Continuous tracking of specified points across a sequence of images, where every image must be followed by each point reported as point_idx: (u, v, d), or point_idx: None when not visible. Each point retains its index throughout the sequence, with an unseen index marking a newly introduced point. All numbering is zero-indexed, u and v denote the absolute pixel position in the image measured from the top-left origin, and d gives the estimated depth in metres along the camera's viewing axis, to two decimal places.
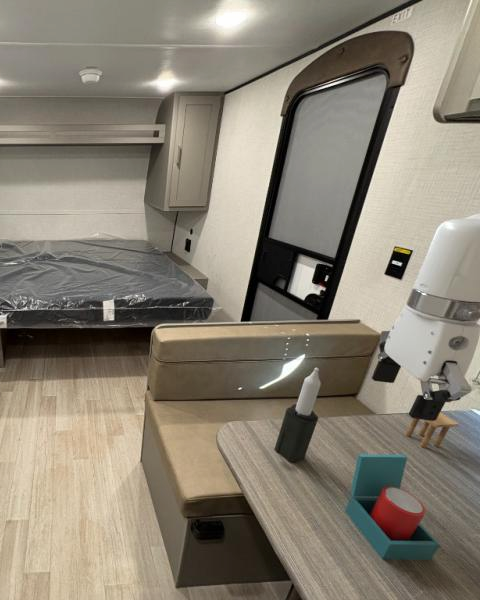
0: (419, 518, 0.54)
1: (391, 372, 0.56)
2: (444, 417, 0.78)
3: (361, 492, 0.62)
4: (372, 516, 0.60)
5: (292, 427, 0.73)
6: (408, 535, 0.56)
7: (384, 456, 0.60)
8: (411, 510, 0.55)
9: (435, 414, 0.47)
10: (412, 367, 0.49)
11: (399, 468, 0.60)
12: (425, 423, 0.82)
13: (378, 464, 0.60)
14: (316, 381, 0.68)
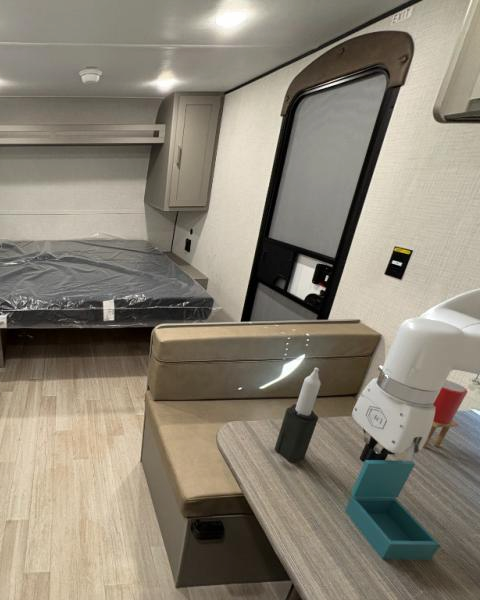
0: (463, 395, 0.73)
1: None
2: None
3: (362, 493, 0.61)
4: None
5: (292, 427, 0.73)
6: (454, 410, 0.75)
7: (391, 462, 0.59)
8: (457, 390, 0.74)
9: None
10: None
11: (405, 473, 0.59)
12: None
13: (383, 469, 0.59)
14: (316, 381, 0.68)
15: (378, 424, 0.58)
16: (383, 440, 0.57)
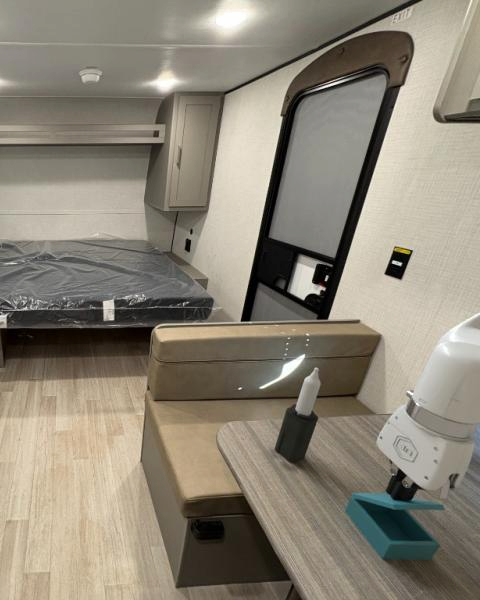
0: None
1: None
2: None
3: None
4: None
5: (292, 427, 0.73)
6: None
7: (420, 508, 0.54)
8: None
9: None
10: None
11: None
12: None
13: None
14: (316, 381, 0.68)
15: (408, 456, 0.53)
16: (414, 475, 0.52)
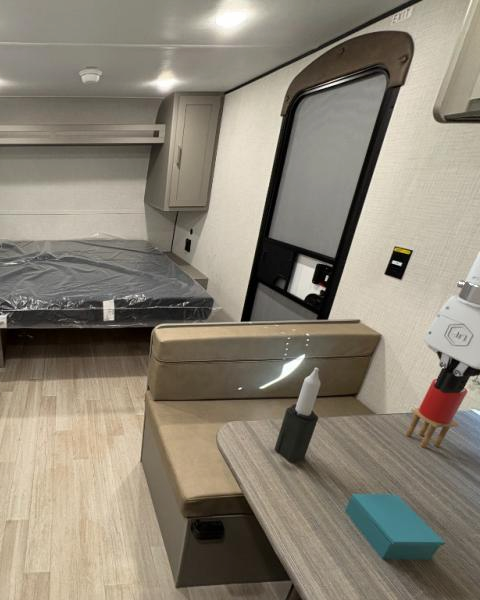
0: (463, 395, 0.73)
1: None
2: None
3: None
4: (424, 402, 0.78)
5: (292, 427, 0.73)
6: (454, 410, 0.75)
7: (419, 544, 0.54)
8: None
9: None
10: None
11: None
12: (425, 423, 0.82)
13: None
14: (316, 381, 0.68)
15: (461, 342, 0.53)
16: (468, 358, 0.52)
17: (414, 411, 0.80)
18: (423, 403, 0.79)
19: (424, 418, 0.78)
